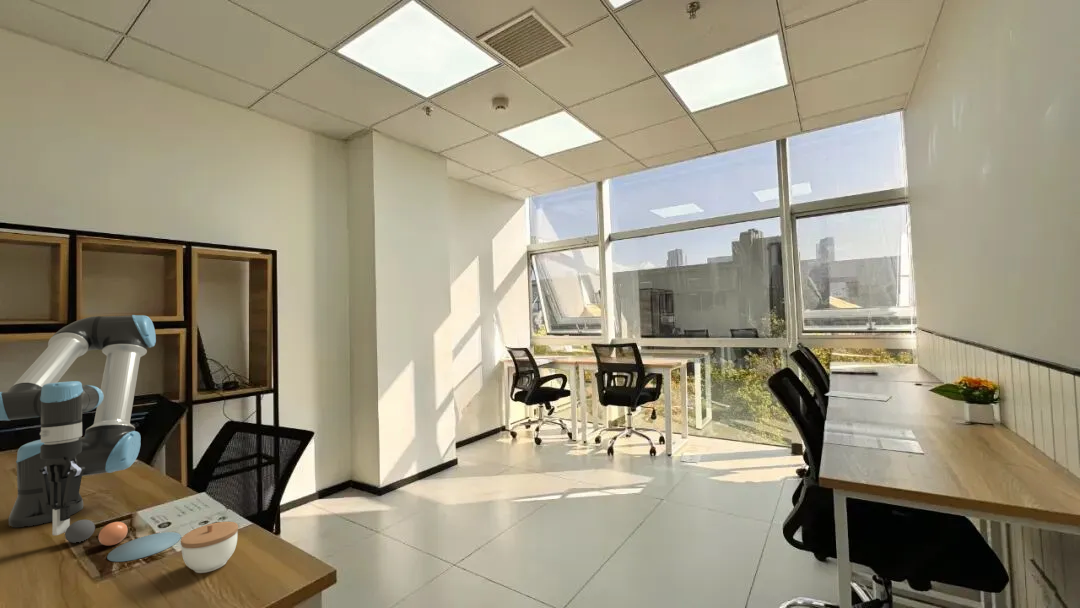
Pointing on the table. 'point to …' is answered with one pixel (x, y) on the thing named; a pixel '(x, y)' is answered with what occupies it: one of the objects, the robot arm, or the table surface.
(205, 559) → the lidded jar
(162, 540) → the slate mark
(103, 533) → the terracotta ball
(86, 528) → the charcoal ball
